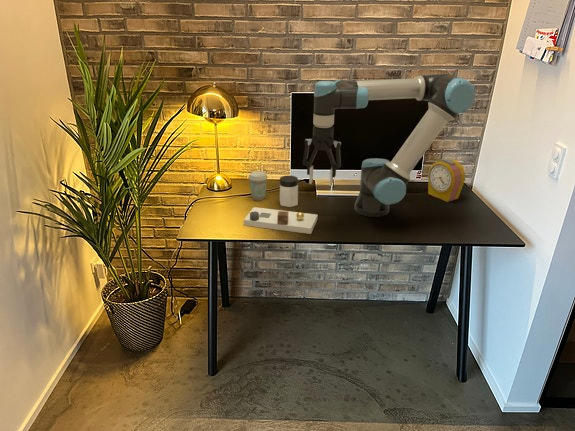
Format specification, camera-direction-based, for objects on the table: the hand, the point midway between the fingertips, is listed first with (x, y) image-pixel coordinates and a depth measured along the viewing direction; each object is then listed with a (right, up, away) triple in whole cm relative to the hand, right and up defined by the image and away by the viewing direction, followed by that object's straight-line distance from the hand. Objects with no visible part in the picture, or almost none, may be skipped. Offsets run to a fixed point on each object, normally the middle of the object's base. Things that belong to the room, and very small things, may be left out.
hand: (320, 183), depth 177 cm
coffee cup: (-26, -5, +35) cm, 44 cm away
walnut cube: (-15, -15, +6) cm, 22 cm away
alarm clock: (+60, -3, +39) cm, 72 cm away
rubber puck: (-26, -14, +9) cm, 31 cm away
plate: (-16, -15, +12) cm, 25 cm away
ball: (-8, -13, +8) cm, 17 cm away
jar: (-12, -7, +30) cm, 33 cm away
